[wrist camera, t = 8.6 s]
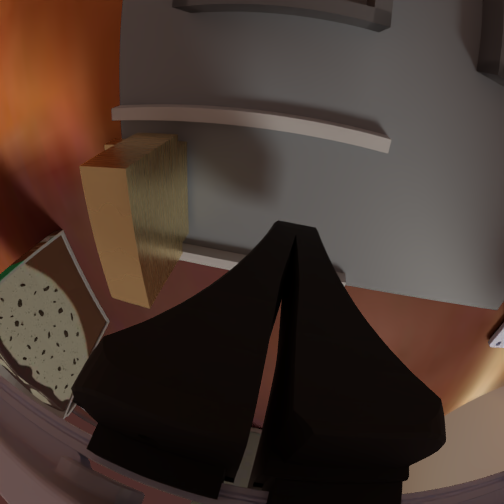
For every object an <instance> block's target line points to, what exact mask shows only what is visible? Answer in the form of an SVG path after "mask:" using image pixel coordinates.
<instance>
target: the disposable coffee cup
mask: <svg viewBox="0 0 504 504" xmlns="http://www.w3.org/2000/svg"><path fill="white" fill-rule="evenodd" d="M261 432H262V430H261V429H258V428H252V427H251V430H250V435H249V439H248V443H247V446H246V449H245V452H244V455H243V458H242V461H241V464H240V467H239V469H238V471H237V474H236V477H235V480H234V483H231V482H226V481H224V483H225V484H229V485H234V486H239V487H244V488H247V487H248V483H249V479H250V475H251V471H252V468H253V464H254V460H255V456H256V452H257V448H258V444H259V440H260V436H261ZM191 504H203V503H199V502H196V501H192V502H191Z"/></svg>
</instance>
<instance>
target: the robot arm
mask: <svg viewBox="0 0 504 504" xmlns="http://www.w3.org/2000/svg"><path fill="white" fill-rule="evenodd" d="M281 300H282V304H281V317H280V329H279V341H278V353H277V361H276V367H275V372H274V377H273V382H272V387H271V392H270V397H269V401H268V406H267V410H266V415H265V419H264V423H263V428H262V432H261V436H260V440H259V444H258V448H257V452H256V456H255V460H254V464H253V468H252V471H251V475H250V479H249V483H248V487H247V488H244V487H239V486H234V485H229V484H225V483H224V481H226V482H231V483H234V480H235V477H236V474H237V471H238V469H239V467H240V464H241V461H242V458H243V455H244V452H245V449H246V446H247V443H248V439H249V435H250V430H251V426H252V422H253V417H254V413H255V409H256V404H257V399H258V394H259V389H260V384H261V379H262V374H263V369H264V364H265V359H266V354H267V349H268V344H269V339H270V336H271V332H272V329H273V326H274V323H275V320H276V316H277V313H278V310H279V306H280V303H281ZM488 344H489V346H490V347H501V348H504V322H503V324H502V325H501V326H500V327H499V329H498V330H497V331H496V332H495V333H494V335H493V336H492V337H491V338H490V340H489V341H488ZM71 390H72V393H73V396H74V398H75V399H76V401H77V402H78V403H79V404H80V405H81V406H82V407H83V408H84V409H85V411H86V412H87V413H88V414H89V415H90V416H91V417H93V418H94V419H95V420H96V421H97V422H98V424H97V426H96V429H95V431H94V433H93V435H91V434H89V433H87V432H85V431H83V430H81V429H80V428H78V427H76V426H74V425H72V424H71V423H69V422H67V421H65V420H64V419H62V418H60V417H59V416H57V415H56V414H54V413H52V412H51V411H49V410H48V409H46V408H45V407H43V406H42V405H40V404H39V403H37V402H36V401H34V400H33V399H31V398H30V397H28V396H27V395H26V394H24V393H23V392H21V391H20V390H19V389H17V388H16V387H15V386H13V385H12V384H11V383H10V382H8V381H7V380H6V379H5V378H3V377H2V376H1V375H0V494H1V496H2V497H3V498H4V499H5V500H6V502H8V504H142V501H143V499H144V496H145V495H144V493H143V492H140V491H138V490H136V489H133V488H131V487H129V486H126V485H124V484H122V483H120V482H118V481H116V480H113V479H111V478H109V477H107V476H105V475H103V474H101V473H99V472H96V471H94V470H93V469H92V468H91V466H90V462H89V460H88V458H89V459H91V460H93V461H94V462H96V463H98V464H100V465H102V466H104V467H106V468H108V469H110V470H113V471H115V472H117V473H119V474H121V475H124V476H126V477H128V478H130V479H133V480H135V481H137V482H140V483H143V484H145V485H148V486H150V487H153V488H155V489H158V490H161V491H164V492H167V493H170V494H173V495H176V496H179V497H182V498H185V499H189V500H192V501H196V502H199V503H203V504H504V471H503V472H500V473H497V474H494V475H491V476H487V477H484V478H481V479H477V480H474V481H470V482H466V483H462V484H458V485H454V486H449V487H444V488H440V489H435V490H428V491H423V492H415V493H409V494H402V481H406V480H407V479H408V477H409V466H410V465H412V464H414V463H416V462H418V461H420V460H422V459H424V458H426V457H428V456H430V455H432V454H434V453H435V452H437V451H438V450H439V449H440V448H441V447H442V446H443V445H444V444H445V442H446V432H445V420H444V412H443V406H442V402H441V399H440V398H439V397H438V396H437V395H436V394H435V393H434V392H433V391H432V390H430V389H429V388H428V387H427V386H426V385H425V384H424V383H423V382H422V381H421V380H420V379H418V378H417V377H416V376H415V375H414V374H413V373H412V372H411V371H410V370H409V369H408V368H407V367H406V366H405V365H404V364H403V363H402V362H401V361H400V360H399V358H398V357H397V356H396V355H395V354H394V353H393V352H392V351H391V350H390V349H389V348H388V346H387V345H386V344H385V343H384V342H383V341H382V339H381V338H380V337H379V336H378V334H377V333H376V332H375V331H374V329H373V328H372V327H371V326H370V324H369V323H368V322H367V321H366V319H365V318H364V317H363V315H362V314H361V312H360V311H359V309H358V308H357V306H356V305H355V303H354V302H353V300H352V299H351V297H350V295H349V294H348V292H347V290H346V289H345V287H344V285H343V283H342V282H341V280H340V278H339V276H338V274H337V272H336V270H335V268H334V266H333V264H332V262H331V260H330V258H329V256H328V254H327V252H326V250H325V247H324V245H323V243H322V240H321V238H320V235H319V232H318V230H317V229H316V227H311V226H305V225H300V224H295V223H290V222H285V221H279V220H278V221H276V222H275V223H274V224H273V226H272V227H271V229H270V230H269V231H268V233H267V234H266V235H265V236H264V238H263V239H262V240H261V241H260V242H259V243H258V244H257V245H256V246H255V247H254V248H253V249H252V251H251V252H250V253H249V254H248V255H246V256H245V257H244V258H243V259H242V260H241V261H240V262H239V263H238V264H237V265H235V266H234V267H233V268H232V269H231V270H230V271H228V272H227V273H226V274H225V275H223V276H222V277H221V278H219V279H218V280H217V281H215V282H214V283H213V284H211V285H210V286H208V287H207V288H205V289H204V290H202V291H201V292H199V293H197V294H196V295H194V296H193V297H191V298H189V299H188V300H186V301H184V302H183V303H181V304H179V305H177V306H175V307H173V308H171V309H169V310H167V311H165V312H163V313H161V314H159V315H157V316H155V317H153V318H151V319H149V320H147V321H144V322H142V323H139V324H137V325H134V326H132V327H129V328H126V329H124V330H121V331H118V332H116V333H113V334H110V335H107V336H104V337H103V338H102V340H101V341H100V342H99V344H98V345H97V346H96V347H95V349H94V350H93V351H92V353H91V354H90V356H89V358H88V359H87V361H86V363H85V364H84V366H83V368H82V370H81V371H80V373H79V375H78V377H77V378H76V380H75V382H74V384H73V386H72V387H71ZM86 457H87V458H86Z"/></svg>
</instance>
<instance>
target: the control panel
mask: <svg viewBox="0 0 504 504" xmlns="http://www.w3.org/2000/svg"><path fill="white" fill-rule="evenodd" d="M119 80H120V106H117V107H114V108H111V110H112V121H114V120H121V132H122V139H126V138H128V137H130V136H132V135H134V134H136V133H163V134H178V141H184V142H187V189H188V220H189V234H188V235H187V237H186V238H185V240H184V241H183V243H182V250H183V254H182V255H181V257H180V258H179V260H183V261H188V262H193V263H198V264H202V265H207V266H212V267H217V268H222V269H227V270H231V269H232V268H233V267H234V266H235V265H237V264H238V263H239V262H240V261H241V260H242V259H243V258H244V257H245V256H246V255H248V254H249V253H250V252H251V251H252V249H253V248H254V247H255V246H256V245H257V244H258V243H259V242H260V241H261V240H262V239H263V238H264V236H265V235H266V234H267V233H268V231H269V230H270V229H271V227H272V226H273V224H274V223H275V222H276V221H278V220H279V221H285V222H290V223H295V224H300V225H305V226H311V227H316V229H317V230H318V232H319V235H320V238H321V240H322V243H323V245H324V247H325V250H326V252H327V254H328V256H329V258H330V260H331V262H332V264H333V266H334V268H335V270H336V272H337V274H338V276H339V278H340V280H341V282H342V283H343V285H344V287H345V285H348V286H354V287H360V288H365V289H371V290H377V291H383V292H389V293H394V294H400V295H406V296H412V297H418V298H424V299H430V300H436V301H442V302H449V303H455V304H461V305H467V306H474V307H480V308H487V309H493V310H498V308H499V307H500V305H501V304H502V303H503V301H504V0H123V4H122V16H121V32H120V65H119Z"/></svg>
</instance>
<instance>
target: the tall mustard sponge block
mask: <svg viewBox="0 0 504 504" xmlns="http://www.w3.org/2000/svg"><path fill="white" fill-rule="evenodd" d="M104 147H105V151H103V152H101V153H100V154H98V155H96V156H95V157H93V158H91V159H90V160H88V161H87V162H85V163H83V164H82V165H80V166H79V167H80V173H81V179H82V184H83V190H84V195H85V200H86V204H87V209H88V214H89V218H90V222H91V227H92V231H93V235H94V239H95V242H96V246H97V250H98V253H99V257H100V261H101V264H102V267H103V271H104V274H105V277H106V280H107V284H108V287H109V290H110V293H111V296H112V298H116V299H119V300H122V301H125V302H129V303H132V304H136V305H139V306H143V307H146V308H151V306H152V304H153V302H154V301H155V299H156V297H157V295H158V294H159V292H160V290H161V289H162V287H163V285H164V283H165V282H166V280H167V278H168V277H169V275H170V273H171V272H172V270H173V268H174V267H175V265H176V263H177V262H178V260H179V258H180V257H181V255H182V254H183V250H182V243H183V241H184V240H185V238H186V237H187V235H188V234H189V220H188V189H187V142H184V141H178V134H163V133H136V134H134V135H132V136H130V137H128V138H126V139H114V140H112V141H110V142H108V143H106V144H105V145H104Z"/></svg>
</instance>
